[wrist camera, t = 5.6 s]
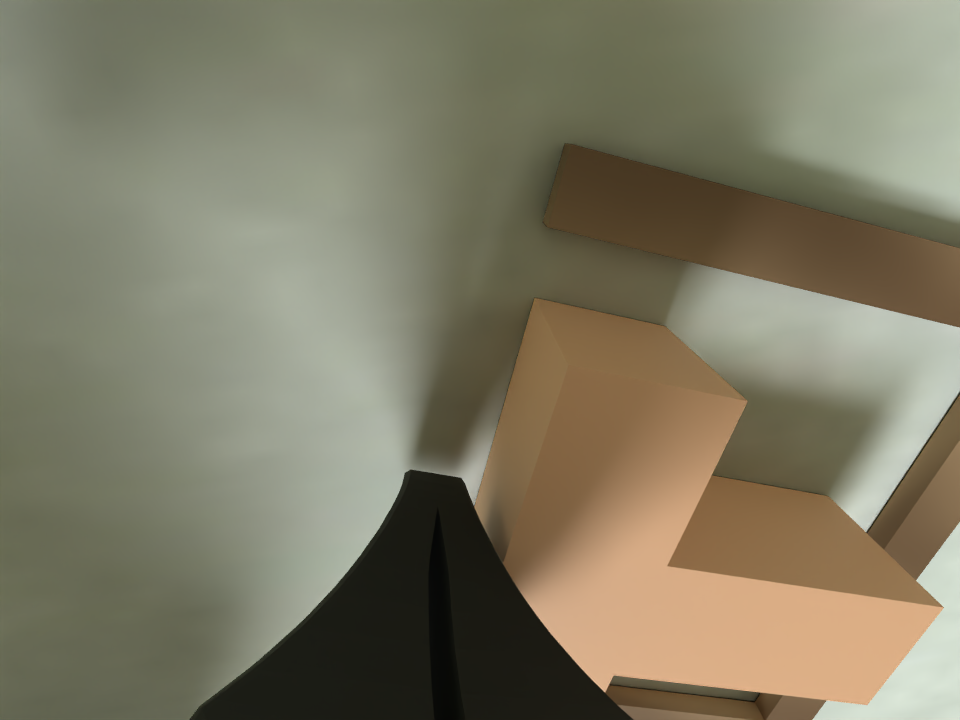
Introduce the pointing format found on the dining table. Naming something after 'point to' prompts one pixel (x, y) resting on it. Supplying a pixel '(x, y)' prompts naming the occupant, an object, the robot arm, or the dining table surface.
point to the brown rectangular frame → (797, 263)
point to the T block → (677, 527)
